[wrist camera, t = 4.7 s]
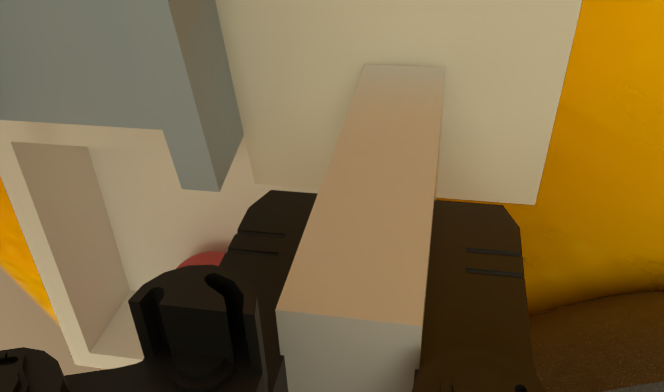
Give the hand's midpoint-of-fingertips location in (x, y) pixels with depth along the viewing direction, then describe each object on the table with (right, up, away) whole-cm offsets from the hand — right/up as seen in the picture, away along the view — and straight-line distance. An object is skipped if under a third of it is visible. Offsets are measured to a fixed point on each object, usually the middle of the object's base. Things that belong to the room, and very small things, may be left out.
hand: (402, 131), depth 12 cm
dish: (-5, -2, +11) cm, 12 cm away
